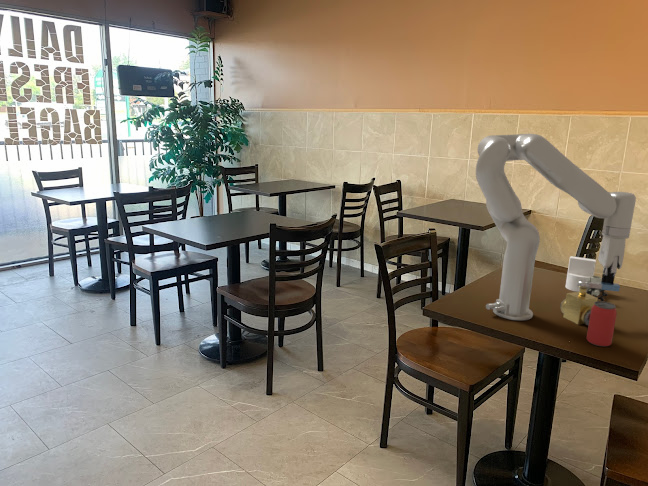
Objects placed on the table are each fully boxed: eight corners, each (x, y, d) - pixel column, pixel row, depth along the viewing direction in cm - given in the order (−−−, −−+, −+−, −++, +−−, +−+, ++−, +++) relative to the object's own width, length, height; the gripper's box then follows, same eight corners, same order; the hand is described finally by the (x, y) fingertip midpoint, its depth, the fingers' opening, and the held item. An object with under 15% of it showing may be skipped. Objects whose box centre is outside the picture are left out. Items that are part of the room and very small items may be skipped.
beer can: (584, 336, 154) (590, 299, 151) (608, 339, 152) (614, 302, 149) (588, 345, 148) (594, 307, 145) (613, 348, 146) (620, 310, 143)
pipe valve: (600, 325, 162) (606, 292, 159) (584, 328, 160) (590, 294, 157) (572, 311, 173) (577, 280, 170) (557, 313, 171) (561, 282, 168)
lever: (578, 288, 162) (579, 282, 162) (576, 284, 166) (577, 279, 165) (619, 292, 159) (620, 286, 159) (616, 288, 163) (617, 283, 162)
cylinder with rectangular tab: (564, 289, 195) (568, 259, 192) (566, 283, 203) (570, 254, 200) (590, 294, 191) (595, 263, 188) (591, 287, 198) (596, 257, 195)
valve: (583, 290, 195) (585, 300, 184) (586, 274, 193) (588, 283, 182) (602, 293, 192) (605, 303, 182) (605, 276, 191) (608, 286, 180)
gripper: (597, 225, 168) (588, 278, 172) (608, 235, 154) (599, 292, 158) (622, 227, 166) (613, 280, 170) (636, 237, 152) (625, 295, 156)
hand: (606, 286), depth 164 cm, fingers closed
